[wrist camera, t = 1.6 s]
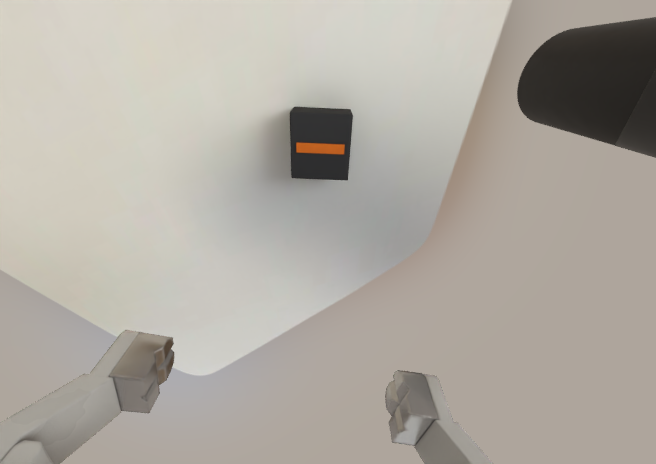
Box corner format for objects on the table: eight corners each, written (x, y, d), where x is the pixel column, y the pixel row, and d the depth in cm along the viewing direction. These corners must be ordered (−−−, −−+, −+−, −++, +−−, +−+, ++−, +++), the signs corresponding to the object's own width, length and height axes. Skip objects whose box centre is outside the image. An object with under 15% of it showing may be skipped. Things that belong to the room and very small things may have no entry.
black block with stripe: (350, 109, 26) (353, 114, 23) (346, 169, 28) (347, 181, 26) (293, 106, 26) (289, 112, 23) (294, 167, 28) (291, 178, 26)
